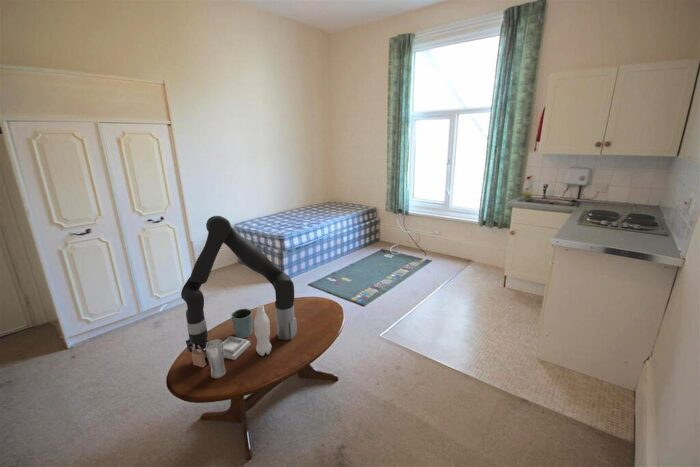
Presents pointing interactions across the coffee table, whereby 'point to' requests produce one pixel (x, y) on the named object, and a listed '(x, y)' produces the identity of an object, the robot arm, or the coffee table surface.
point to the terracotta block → (198, 358)
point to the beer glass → (216, 357)
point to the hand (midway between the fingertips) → (202, 361)
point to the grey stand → (234, 347)
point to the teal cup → (242, 323)
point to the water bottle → (262, 331)
